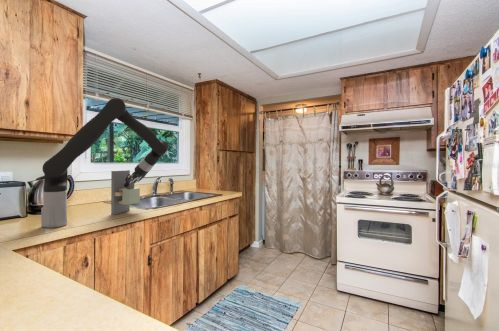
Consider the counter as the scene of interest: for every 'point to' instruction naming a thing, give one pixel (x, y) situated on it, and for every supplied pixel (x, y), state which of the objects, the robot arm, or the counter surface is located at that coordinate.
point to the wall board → (116, 196)
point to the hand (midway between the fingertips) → (127, 185)
